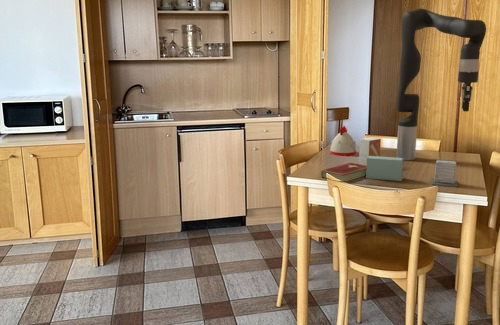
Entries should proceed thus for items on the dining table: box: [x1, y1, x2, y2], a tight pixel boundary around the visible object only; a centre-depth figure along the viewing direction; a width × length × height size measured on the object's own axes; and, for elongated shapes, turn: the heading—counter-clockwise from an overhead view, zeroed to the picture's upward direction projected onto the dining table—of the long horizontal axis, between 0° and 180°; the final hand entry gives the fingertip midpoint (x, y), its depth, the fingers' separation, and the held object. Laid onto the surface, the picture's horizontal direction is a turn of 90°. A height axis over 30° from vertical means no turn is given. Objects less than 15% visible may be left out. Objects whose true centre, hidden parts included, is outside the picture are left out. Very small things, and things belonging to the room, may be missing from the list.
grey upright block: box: [434, 160, 457, 184], centre depth 200 cm, size 8×4×9 cm, turn 69°
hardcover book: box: [320, 162, 367, 182], centre depth 215 cm, size 12×21×4 cm, turn 131°
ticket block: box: [365, 156, 405, 182], centre depth 209 cm, size 5×15×9 cm, turn 69°
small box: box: [358, 136, 382, 166], centre depth 234 cm, size 8×6×13 cm
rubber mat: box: [430, 177, 458, 188], centre depth 201 cm, size 9×10×1 cm
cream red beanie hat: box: [329, 125, 357, 157], centre depth 260 cm, size 14×14×15 cm
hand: (465, 110), depth 199 cm, fingers open, 8 cm apart
